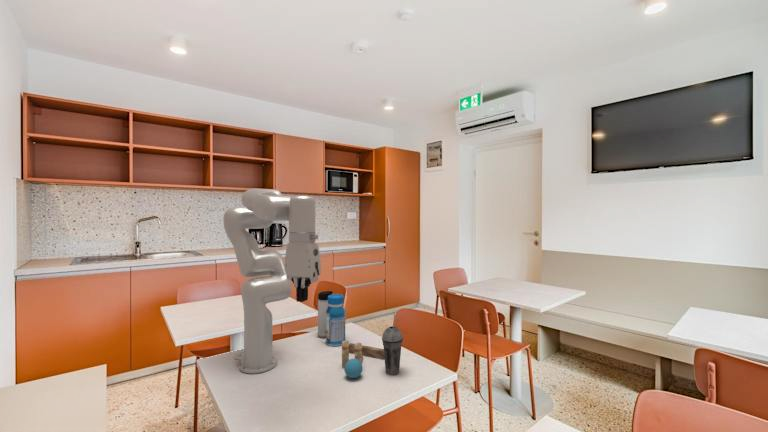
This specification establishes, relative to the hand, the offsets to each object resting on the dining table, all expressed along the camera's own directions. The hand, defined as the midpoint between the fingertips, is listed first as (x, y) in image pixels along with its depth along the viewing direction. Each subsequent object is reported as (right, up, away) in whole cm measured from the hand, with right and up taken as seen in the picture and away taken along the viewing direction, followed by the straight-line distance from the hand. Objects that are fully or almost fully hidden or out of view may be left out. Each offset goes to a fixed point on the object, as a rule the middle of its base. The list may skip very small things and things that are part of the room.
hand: (302, 300), depth 98 cm
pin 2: (+15, -29, +19) cm, 38 cm away
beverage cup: (+27, -29, +17) cm, 43 cm away
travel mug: (-2, -29, +51) cm, 59 cm away
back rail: (+18, -29, +31) cm, 46 cm away
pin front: (+12, -28, +17) cm, 35 cm away
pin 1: (+10, -29, +21) cm, 37 cm away
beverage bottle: (+4, -29, +43) cm, 52 cm away
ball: (+14, -26, +13) cm, 32 cm away
